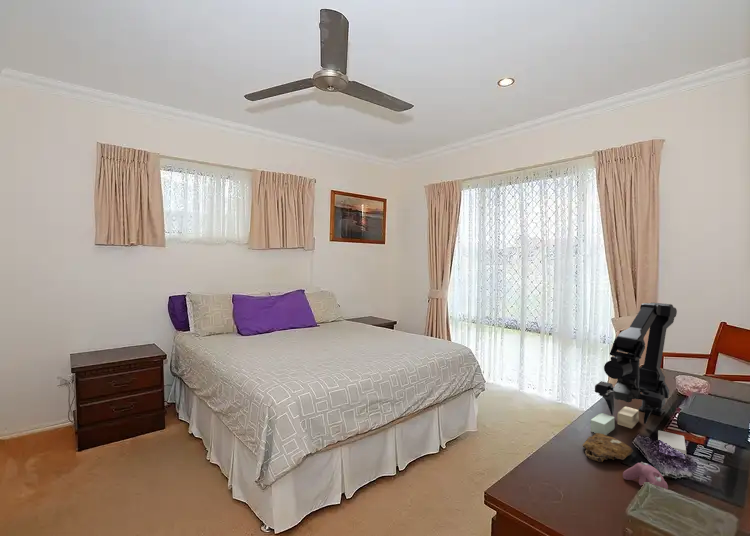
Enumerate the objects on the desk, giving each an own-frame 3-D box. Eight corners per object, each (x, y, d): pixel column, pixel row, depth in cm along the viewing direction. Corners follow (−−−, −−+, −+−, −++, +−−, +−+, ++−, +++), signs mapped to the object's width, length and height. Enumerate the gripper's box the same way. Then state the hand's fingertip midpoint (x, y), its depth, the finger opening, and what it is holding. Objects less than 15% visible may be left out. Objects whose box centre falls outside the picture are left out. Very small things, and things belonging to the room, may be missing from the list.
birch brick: (624, 417, 125) (624, 406, 125) (638, 421, 122) (638, 409, 122) (617, 424, 120) (617, 413, 120) (631, 429, 117) (631, 417, 117)
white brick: (658, 439, 110) (658, 430, 110) (683, 445, 107) (683, 436, 106) (658, 454, 102) (658, 443, 102) (686, 461, 99) (686, 450, 99)
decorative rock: (622, 476, 93) (635, 455, 103) (623, 461, 93) (636, 441, 103) (574, 456, 101) (591, 439, 111) (575, 442, 101) (592, 426, 111)
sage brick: (600, 424, 120) (601, 412, 120) (614, 429, 117) (614, 417, 117) (590, 432, 115) (590, 419, 115) (604, 437, 112) (604, 424, 112)
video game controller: (660, 512, 81) (676, 486, 80) (640, 500, 82) (656, 475, 81) (637, 484, 91) (651, 461, 90) (619, 474, 92) (633, 452, 91)
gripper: (589, 371, 122) (588, 417, 123) (657, 386, 108) (657, 437, 108) (600, 365, 129) (600, 407, 130) (666, 377, 115) (665, 425, 116)
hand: (628, 419), depth 121 cm, fingers open, 9 cm apart
